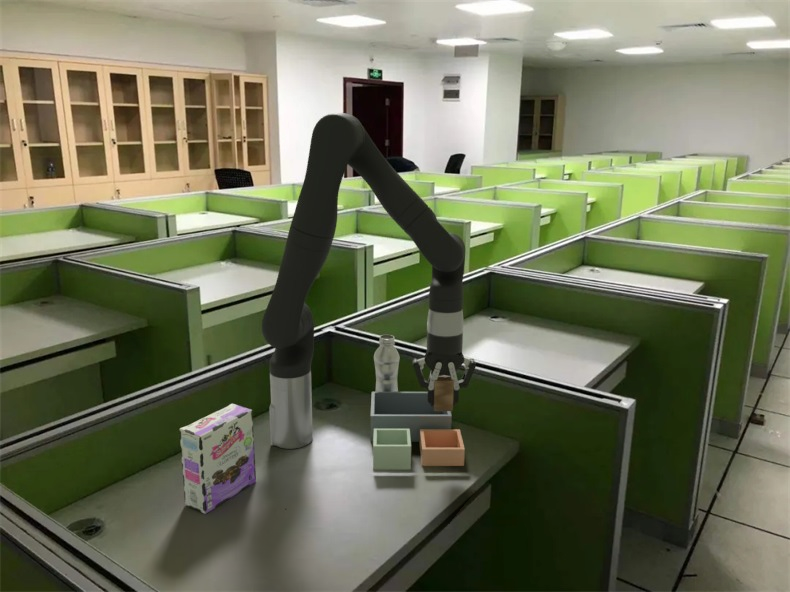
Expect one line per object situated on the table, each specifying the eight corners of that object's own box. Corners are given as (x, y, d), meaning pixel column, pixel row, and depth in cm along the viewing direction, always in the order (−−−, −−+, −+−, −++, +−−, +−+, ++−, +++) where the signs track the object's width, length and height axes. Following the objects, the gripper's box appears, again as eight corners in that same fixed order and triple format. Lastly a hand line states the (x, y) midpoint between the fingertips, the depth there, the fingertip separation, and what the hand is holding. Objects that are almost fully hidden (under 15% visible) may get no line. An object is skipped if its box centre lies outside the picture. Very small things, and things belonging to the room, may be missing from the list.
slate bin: (370, 443, 145) (370, 415, 143) (371, 417, 158) (371, 391, 156) (450, 443, 145) (451, 416, 143) (445, 417, 158) (446, 391, 156)
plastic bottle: (396, 416, 158) (397, 342, 153) (370, 414, 159) (371, 339, 154) (401, 406, 164) (402, 333, 159) (376, 403, 165) (376, 331, 160)
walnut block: (434, 411, 134) (434, 380, 132) (432, 403, 138) (433, 373, 136) (452, 411, 134) (453, 380, 132) (450, 403, 138) (451, 373, 136)
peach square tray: (421, 468, 134) (422, 449, 133) (419, 447, 143) (419, 429, 142) (463, 468, 135) (464, 449, 133) (458, 447, 143) (459, 429, 142)
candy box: (205, 515, 117) (198, 436, 113) (184, 505, 120) (177, 427, 116) (257, 481, 129) (253, 408, 124) (236, 473, 132) (232, 401, 127)
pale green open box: (373, 471, 133) (373, 446, 131) (373, 452, 141) (373, 428, 139) (410, 471, 133) (411, 446, 131) (409, 452, 141) (409, 428, 139)
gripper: (411, 334, 127) (410, 412, 132) (481, 334, 128) (478, 412, 132) (410, 323, 134) (409, 397, 139) (476, 323, 135) (473, 397, 139)
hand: (442, 403), depth 135 cm, fingers closed on walnut block, 4 cm apart
